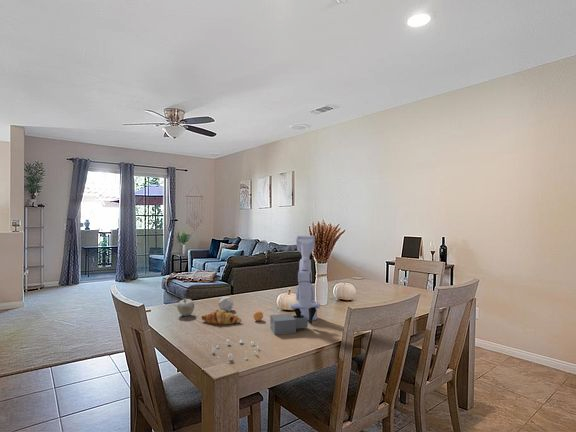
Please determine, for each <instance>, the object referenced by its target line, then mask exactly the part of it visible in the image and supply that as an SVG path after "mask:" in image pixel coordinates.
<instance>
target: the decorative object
mask: <svg viewBox="0 0 576 432" xmlns="http://www.w3.org/2000/svg"><path fill="white" fill-rule="evenodd" d="M194 310H195V303H194V301H193V300H192V299H191V298H186V297H184V298H183V299H181V300H180V301H178V303H177V311H178V314H180V315H181V316H183V317H189V316H190V315H192V313H193V312H194Z"/></svg>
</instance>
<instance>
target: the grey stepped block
mask: <svg viewBox="0 0 576 432" xmlns="http://www.w3.org/2000/svg"><path fill="white" fill-rule="evenodd" d="M269 319H270V320H269V321H270V323H269V324H270V330H271V331H272V333H273V335H274V336H277V335H289V334H297V329H304V328H306V329H307V328H308V323H309V320H308V318H307V317H306V316H305V315H301V318H297V316H296V314H292V313H280V314H270V317H269Z"/></svg>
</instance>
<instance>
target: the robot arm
mask: <svg viewBox="0 0 576 432" xmlns="http://www.w3.org/2000/svg"><path fill="white" fill-rule="evenodd" d="M315 237H316V236H315V235H299V234H297V236H296V242H295V243H296V250H297V252H299V253H300V254H301V258H300V260H299V263H298V264H299V265H298V266H299V267H298V268H299V269H298V272H297V282H298V285H297V286H296V293H295V300H296V301H297V302H298V303H295V304H290V305H289V310H290V311H293V312H294V313H295V315H296V316H297V318H301V315H305V316H306V317H307V318H308V323H309V324H310V325H312V323H313V321H314V320H318V309H320V308H321V304H320V303H318V302H316V300H315V299H316V298H315V296H316V295H315V292H316V289H315V285H313V284H312V283H313V282H312V281H313V277H312V276H313V275H312V261H311V259H310V256H311V254H312V252H314V251H315V246H316V245H315V242H316V239H315Z"/></svg>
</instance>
